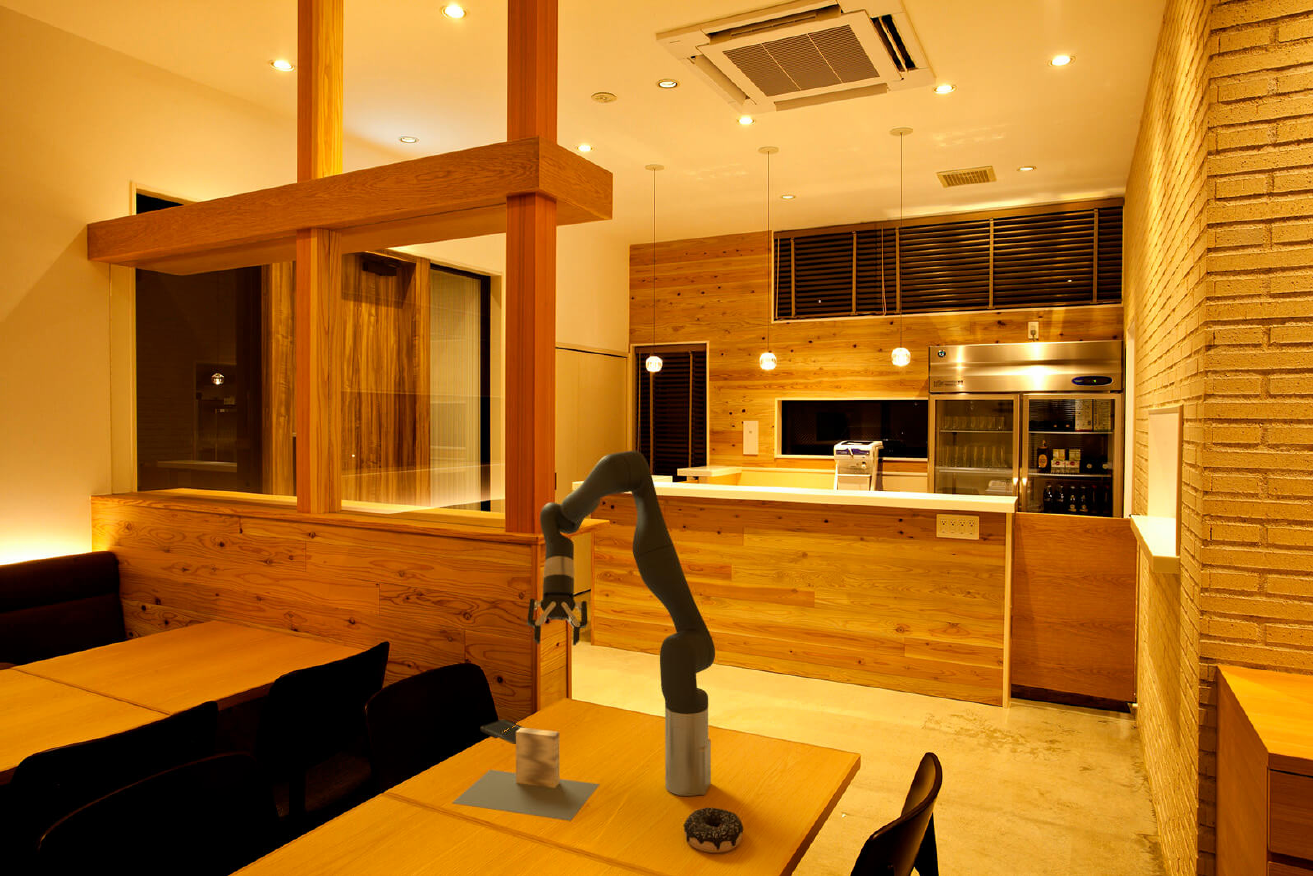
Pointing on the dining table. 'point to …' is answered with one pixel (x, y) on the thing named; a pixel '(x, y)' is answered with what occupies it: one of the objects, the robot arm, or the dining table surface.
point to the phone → (502, 730)
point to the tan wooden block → (537, 757)
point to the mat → (527, 796)
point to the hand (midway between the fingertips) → (556, 643)
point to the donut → (713, 830)
